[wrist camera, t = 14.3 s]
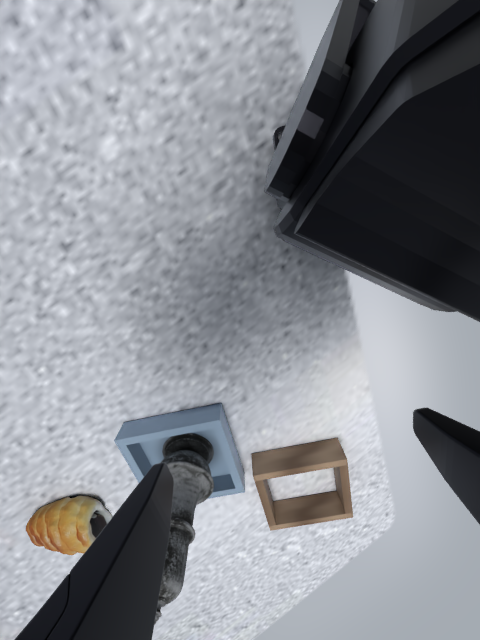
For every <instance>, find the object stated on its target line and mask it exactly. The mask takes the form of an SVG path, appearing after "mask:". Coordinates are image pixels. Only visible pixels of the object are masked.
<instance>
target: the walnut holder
mask: <svg viewBox="0 0 480 640" xmlns="http://www.w3.org/2000/svg"><path fill="white" fill-rule="evenodd" d="M333 467H334V474H335V482H336V489H337V491H333V492H327V493H321V494H315V495H309V496H303V497H297V498H291V499H285V500H279V501H273V499H272V496H271V493H270V489H269V486H268V482H267V479H270V478H276V477H281V476H287V475H293V474H299V473H304V472H310V471H316V470H321V469H327V468H333ZM252 468H253V477H254V480H255V484H256V487H257V490H258V493H259V496H260V499H261V502H262V506H263V509H264V512H265V515H266V518H267V521H268V524H269V528H270V531H271V530H277V529H283V528H289V527H296V526H302V525H308V524H314V523H321V522H327V521H333V520H339V519H346V518H352V517H353V511H352V502H351V492H350V482H349V473H348V463H347V458H346V456H345V453H344V451H343V449H342V447H341V445H340V443H339V440H338V438H334V439H329V440H323V441H318V442H312V443H307V444H302V445H296V446H291V447H285V448H280V449H274V450H269V451H264V452H258V453H253V454H252Z"/></svg>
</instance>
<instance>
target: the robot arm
mask: <svg viewBox="0 0 480 640" xmlns="http://www.w3.org/2000/svg"><path fill="white" fill-rule="evenodd" d="M280 133H282V136H281V138H280V140H279V139H278V134H280ZM273 142H274V149H275V153H274V155H273V158H272V160H271V162H270V165H269V169H268V174H267V179H266V184H265V190H264V192H266V193H268V194H270V195H272V196H274V197H276V198H277V204H278V207H279V208H280V209H281V212H280V214H279V216H278V218H277V221H276V223H275V225H274V230H275V233H276V236H277V237H279V238H281V239H283V241H286V242H288V243H290V244H292V245H294V246H296V247H298V248H300V249H303V250H305V251H307V252H309V253H311V254H313V255H315V256H318V257H320V258H322V259H324V260H326V261H328V262H330V263H333V264H335V265H337V266H339V267H341V268H343V269H345V270H348V271H350V272H352V273H354V274H356V275H358V276H360V277H363V278H365V279H367V280H369V281H371V282H373V283H375V284H378V285H380V286H382V287H384V288H386V289H388V290H391V291H392V292H395V293H397V294H399V295H401V296H403V297H406V298H407V299H410V300H412V301H414V302H416V303H418V304H420V305H423V306H426V307H428V308H430V309H433V310H439V311H445V312H455V311H458V312H460V313H462V314H464V315H466V316H468V317H471V318H473V319H475V320H477V321H479V322H480V0H378V1H377V2H375V1H374V0H340V1H339V3H338V5H337V7H336V10H335V12H334V14H333V16H332V18H331V20H330V23H329V25H328V27H327V29H326V31H325V34H324V36H323V38H322V40H321V42H320V44H319V47H318V49H317V51H316V54H315V56H314V59H313V61H312V64H311V66H310V69H309V71H308V73H307V76H306V78H305V80H304V83H303V85H302V88H301V90H300V92H299V95H298V97H297V100H296V102H295V104H294V107H293V109H292V112H291V114H290V117H289V119H288V121H287V124H286V125H285V126H282V127H279V128H277V130H276V131H275V133H274V136H273ZM413 429H414V432H415V434H416V436H417V438H418V439H419V441H420V442H421V444H422V445H423V447H424V448H425V450H426V452H427V453H428V455H429V456H430V458H431V459H432V461H433V462H434V464H435V465H436V467H437V468H438V470H439V472H440V473H441V474H442V476H443V478H444V479H445V480H446V482H447V483H448V484H449V486H450V487H451V488H452V490H453V491H454V492H455V493H456V495H457V496H458V497H459V499H460V500H461V501H462V502H463V504H464V505H465V506H466V508H467V509H468V510H469V511H470V513H471V514H472V515H473V517H474V518H475V519H476V520H477V522H478V523H479V524H480V431H477V430H475V429H473V428H471V427H469V426H466V425H464V424H462V423H460V422H457V421H455V420H453V419H451V418H449V417H447V416H444V415H442V414H440V413H438V412H436V411H433V410H431V409H429V408H421V409H417V410H414V412H413ZM173 487H174V480H173V476H172V474H171V472H170V470H169V468H168V466H167V464H166V463H165V462H162V463H157V464H154V465H153V466H152V467H151V469H150V470H149V471H148V472H147V474H146V475H145V476H144V478H143V479H142V480H141V481H140V483H139V484H138V485H137V487H136V488H135V489H134V490H133V492H132V493H131V494H130V496H129V497H128V498H127V499H126V501H125V502H124V503H123V504H122V506H121V507H120V508H119V510H118V511H117V512H116V513H115V515H114V516H113V517H112V519H111V520H110V521H109V522H108V524H107V525H106V526H105V528H104V529H103V530H102V531H101V533H100V534H99V535H98V537H97V538H96V539H95V540H94V542H93V543H92V544H91V545H90V547H89V548H88V549H87V551H86V552H85V553H84V554H83V556H82V557H81V558H80V560H79V561H78V562H77V563H76V565H75V566H74V567H73V569H72V570H71V571H70V574H68V575H67V576H66V577H65V579H64V580H63V581H62V583H61V584H60V585H59V586H58V588H57V589H56V590H55V591H54V593H53V594H52V595H51V596H50V598H49V599H48V600H47V601H46V603H45V604H44V605H43V606H42V608H41V609H40V610H39V611H38V613H37V614H36V615H35V616H34V617H33V619H32V620H31V621H30V622H29V623H28V624H27V626H26V627H25V628H24V629H23V630H22V632H21V633H20V634H19V635H18V636H17V637H16V639H15V640H152V634H153V628H154V622H155V617H156V611H157V605H158V599H159V593H160V587H161V582H162V576H163V570H164V564H165V558H166V552H167V547H168V541H169V534H170V525H171V513H172V500H173Z"/></svg>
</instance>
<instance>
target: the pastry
mask: <svg viewBox="0 0 480 640" xmlns="http://www.w3.org/2000/svg"><path fill="white" fill-rule="evenodd" d="M111 519H112V515H111V513H109V512H108V510H106V509H105V508H104V507H103V505H102V504H101V502H100V501H98V500H97V499H94V498H92V497H90V496H80V495H79V496H77V497H75V498H69V497H67V498H63V499H61V500H57V501H55V502H53V503H50V504H47V505H45V506H43V507H41V508H40V509H38V510H37V511H36V512H35V514H34V515H33V516H32V517H31V518H30V520H29V521H28V523H27V526H26V531H27V533H28V535H29V537H30V539H31V541H32V543H33V544H35V545H36V546H44V547H45V548H46V549H49V550H51V551H58V552H61V553H63V554H68V555H74V554H75V553H77V552H79V553H85V552H86V551H87V549H88V548H89V547H90V545H91V544H92V543H93V542H94V540H95V539H96V538H97V537H98V535H99V534H100V533H101V531H102V530H103V529H104V528H105V526H106V525H107V524H108V522H109V521H110V520H111Z"/></svg>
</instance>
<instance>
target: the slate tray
mask: <svg viewBox="0 0 480 640" xmlns="http://www.w3.org/2000/svg"><path fill="white" fill-rule="evenodd" d="M186 433H195V434H198V435H201V436H203V437H204V438H206V439H207V440H208V441H209V442H210V443H211V445H212V446H213V450H214V455H213V459H212V460H211V462H210V463H209V464H208V465H209V468H210V471H211V476H212V478H213V481H214V489H213V492H212V494H211V495H210V497H209V498H214V497H220V496H226V495H231V494H237V493H243V492H245V478H244V470H243V467H242V464H241V461H240V458H239V455H238V452H237V449H236V446H235V443H234V440H233V437H232V434H231V431H230V428H229V425H228V422H227V419H226V416H225V413H224V410H223V407H222V404H221V403H218V404H213V405H208V406H203V407H198V408H193V409H188V410H183V411H178V412H174V413H169V414H164V415H159V416H154V417H149V418H144V419H139V420H134V421H129V422H124V423H123V425H122V427H121V429H120V431H119V433H118V435H117V437H116V438H115V440H114V441H115V443H116V444H117V446H118V448H119V450H120V451H121V453H122V455H123V456H124V458H125V460H126V462H127V463H128V465H129V467H130V468H131V470H132V472H133V474H134V475H135V477H136V479H137V480H138V482H139V483H140V481H141V480H142V479H143V478H144V476H145V475H146V474H147V472H148V471H149V470H150V469H151V467H152V466H153V465H154V464H157V463H160V462H161V461H162V460H163V459H164V457H163V453H162V450H163V445H164V443H165V441H166V440H168V439H169V438H170V437H171V436H176V435H181V434H186ZM207 499H208V498H207Z"/></svg>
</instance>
